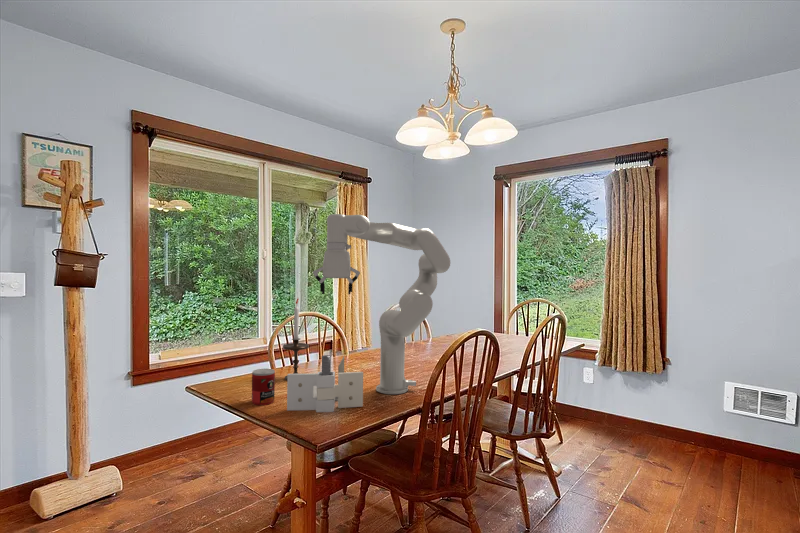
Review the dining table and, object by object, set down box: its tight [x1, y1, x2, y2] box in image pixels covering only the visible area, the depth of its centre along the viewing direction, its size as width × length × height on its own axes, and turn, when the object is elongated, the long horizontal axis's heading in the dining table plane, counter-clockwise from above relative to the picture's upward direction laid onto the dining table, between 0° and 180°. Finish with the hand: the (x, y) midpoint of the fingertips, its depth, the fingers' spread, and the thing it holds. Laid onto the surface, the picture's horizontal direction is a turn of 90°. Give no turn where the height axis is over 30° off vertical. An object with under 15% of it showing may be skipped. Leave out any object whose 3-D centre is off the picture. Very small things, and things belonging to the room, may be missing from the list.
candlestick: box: [282, 298, 310, 382], centre depth 182 cm, size 11×11×35 cm
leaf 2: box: [317, 371, 364, 409], centre depth 145 cm, size 16×6×12 cm, turn 104°
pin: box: [321, 354, 332, 400], centre depth 144 cm, size 3×3×18 cm
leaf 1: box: [286, 371, 336, 413], centre depth 143 cm, size 16×6×12 cm, turn 96°
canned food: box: [251, 368, 276, 406], centre depth 151 cm, size 8×8×11 cm
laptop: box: [313, 355, 345, 402], centre depth 162 cm, size 18×12×13 cm
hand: (336, 293), depth 157 cm, fingers open, 9 cm apart
